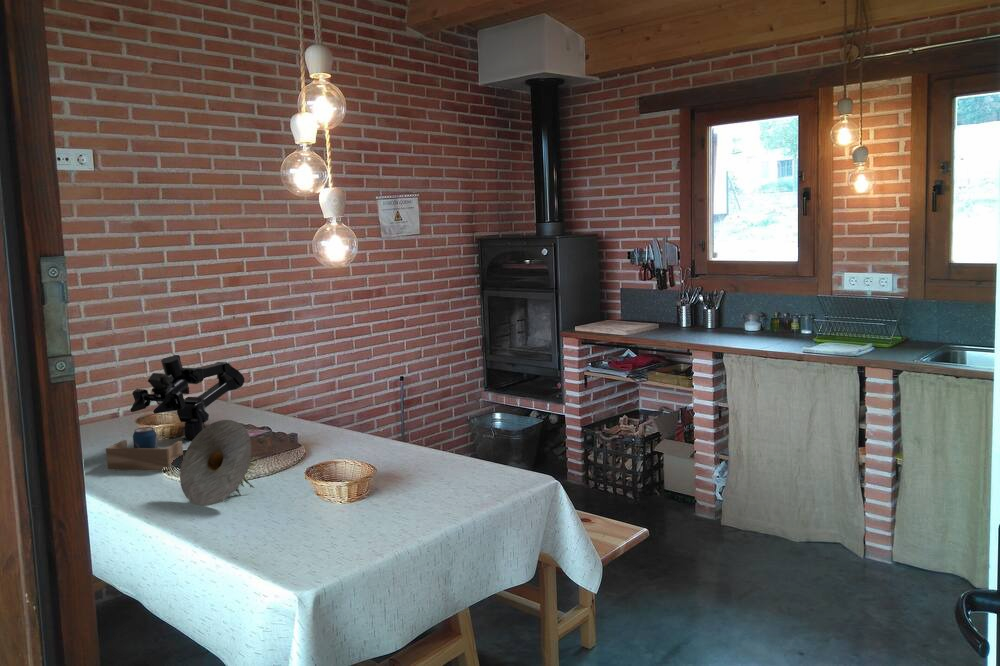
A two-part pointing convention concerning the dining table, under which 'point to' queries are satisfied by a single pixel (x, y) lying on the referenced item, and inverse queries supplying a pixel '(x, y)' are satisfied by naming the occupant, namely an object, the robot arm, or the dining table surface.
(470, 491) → the dining table surface
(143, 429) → the soda can
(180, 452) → the wooden u-shaped frame
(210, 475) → the disc
